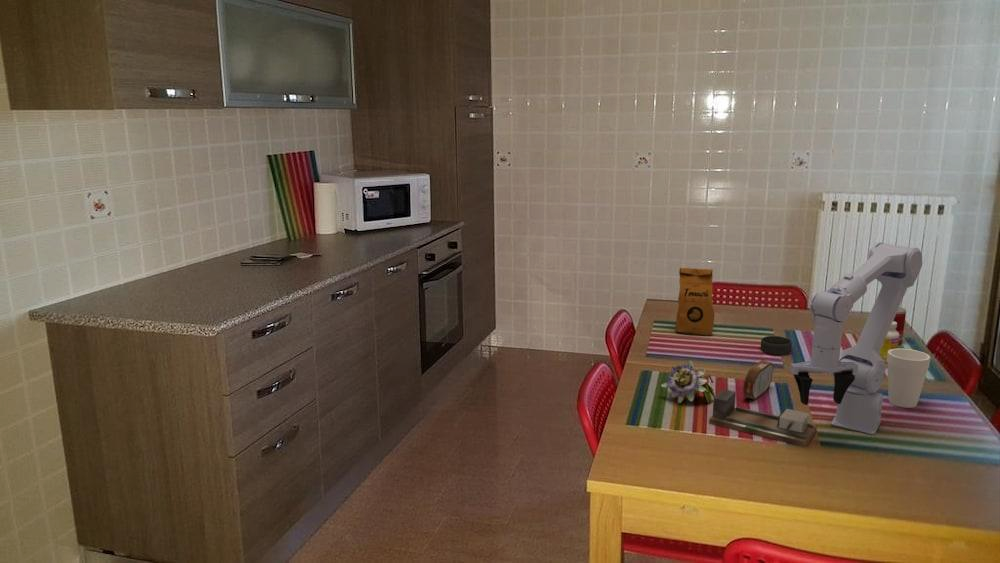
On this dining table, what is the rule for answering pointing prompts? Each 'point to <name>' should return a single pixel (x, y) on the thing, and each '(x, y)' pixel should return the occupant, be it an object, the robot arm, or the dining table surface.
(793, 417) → the block
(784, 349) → the smart speaker
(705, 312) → the coffee package
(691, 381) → the passion flower
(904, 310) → the canned food
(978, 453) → the dining table surface
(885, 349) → the supplement bottle
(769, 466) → the dining table surface
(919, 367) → the foam cup
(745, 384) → the tin
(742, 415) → the base
